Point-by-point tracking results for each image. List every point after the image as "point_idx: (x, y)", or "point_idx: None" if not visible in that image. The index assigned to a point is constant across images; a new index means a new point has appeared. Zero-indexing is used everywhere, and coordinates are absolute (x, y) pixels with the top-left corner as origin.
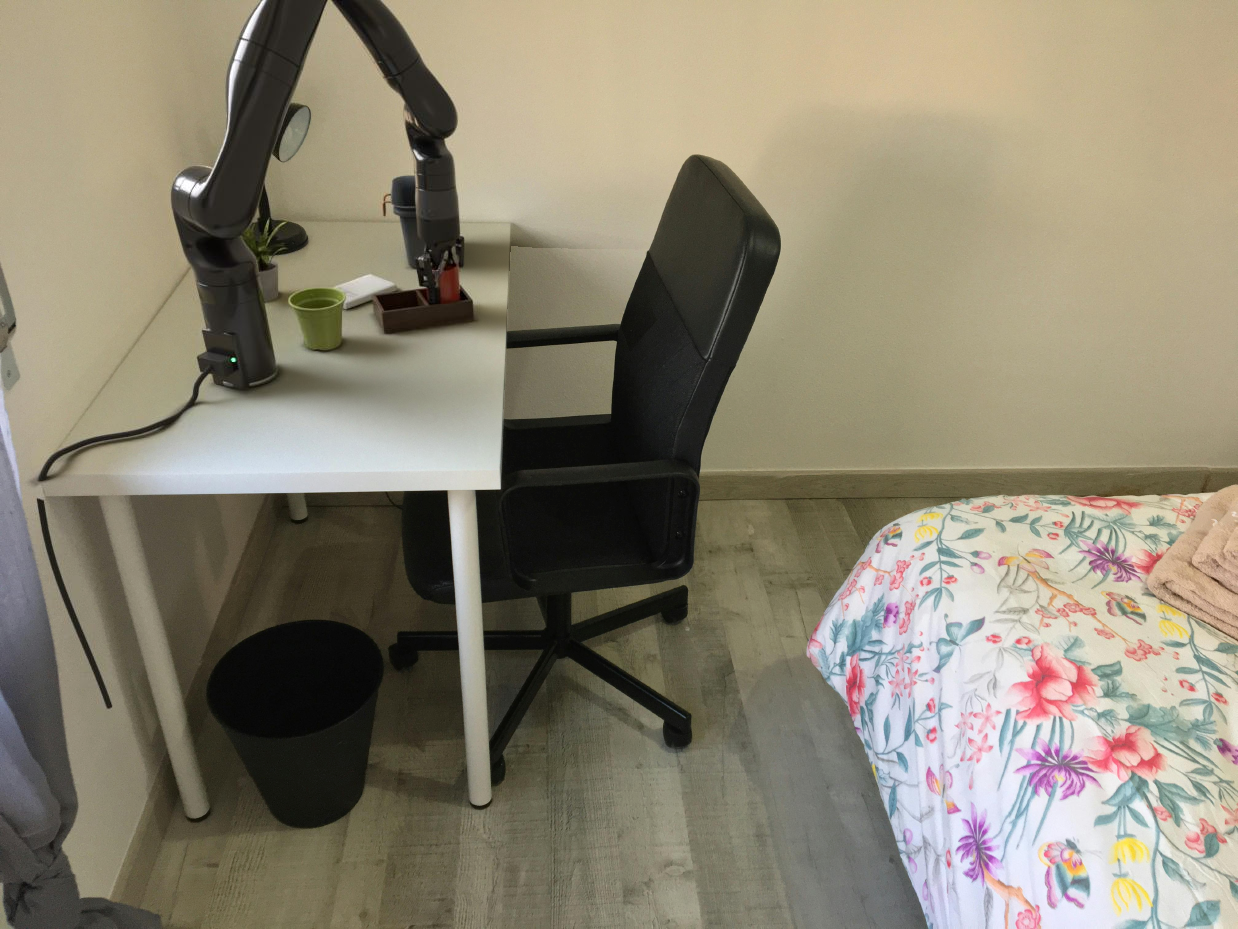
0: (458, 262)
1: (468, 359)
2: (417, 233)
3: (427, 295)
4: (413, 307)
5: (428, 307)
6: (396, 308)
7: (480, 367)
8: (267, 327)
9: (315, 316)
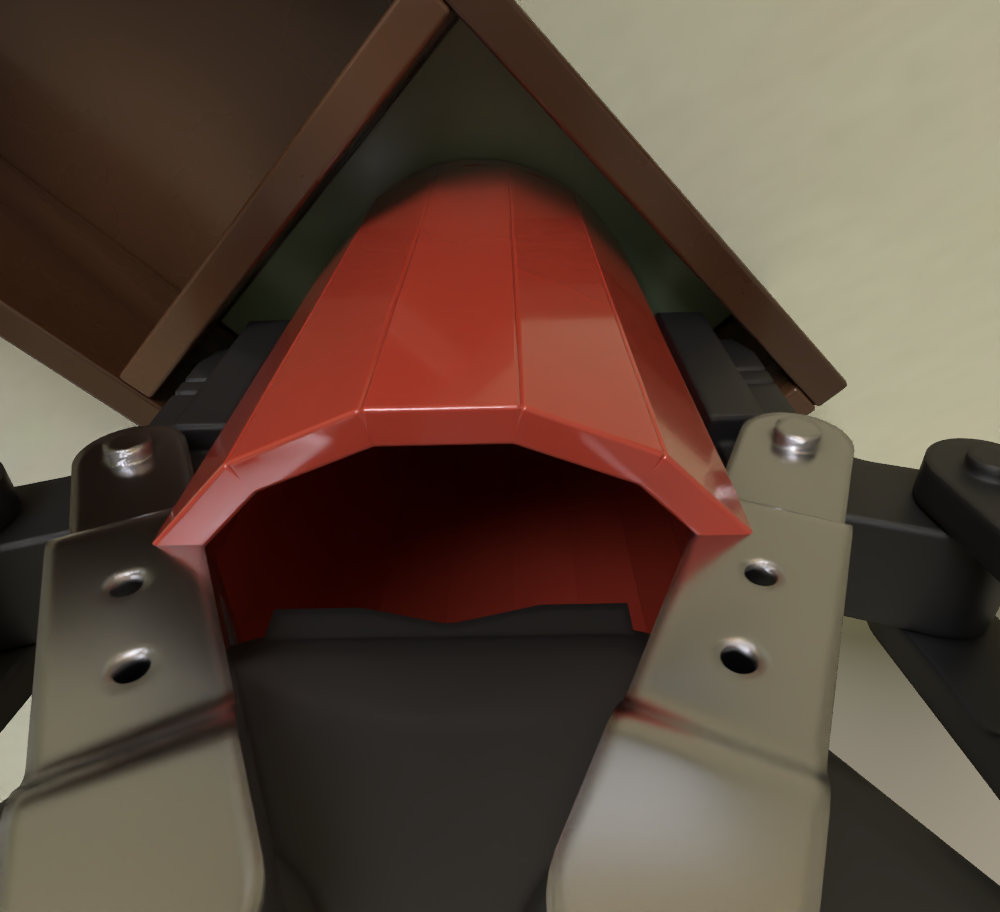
0: (920, 627)
1: (31, 700)
2: None
3: (347, 247)
4: None
5: (124, 405)
6: None
7: (15, 762)
8: None
9: None
